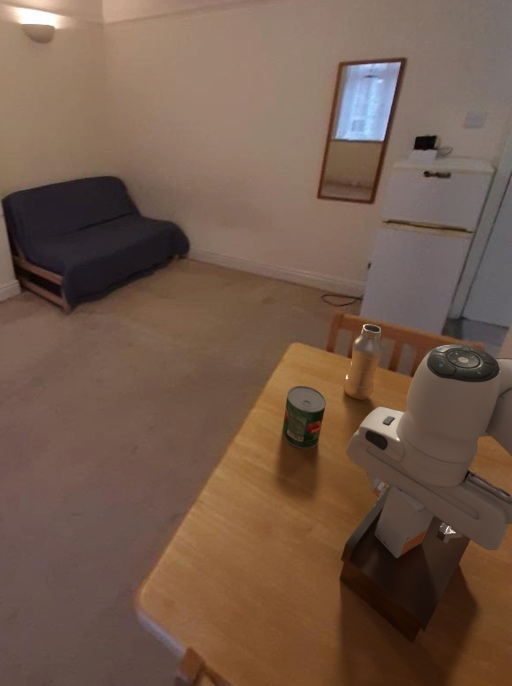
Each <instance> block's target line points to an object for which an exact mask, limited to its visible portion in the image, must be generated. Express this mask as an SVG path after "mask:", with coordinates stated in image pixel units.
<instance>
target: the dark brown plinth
mask: <svg viewBox="0 0 512 686" xmlns="http://www.w3.org/2000/svg"><path fill="white" fill-rule="evenodd" d="M390 488H391V487H390V486H389V485H387V487H385V490H384V492H383V494H381V496H380V497H378V499H377V500H376V502H374V504H373V506H372V507H371V508H370V509H369V511H368V513H367V514H366V515H365V516H364V517H363V519H362V520H361V522H360V523H359V524H358V525H357V527H355V530H354V531H353V532H352V533H351V535H350V536H349V538H348V539H347V540H346V542H345V544H344V547H343V551H342V554H341V558H340V561H341V562H342V563H343V565H342V567H341V571H340V576H339V580H340V581H342V582H343V583H344V584H345V585H346V586H347V587H348V588H350V589H351V590H352V591H353V592H354V593H355V594H356V595H357V596H359V597H360V598H361V599H362V600H363V601H364V602H366V604H367V605H369V607H371V608H372V609H373V610H374V611H376V613H378V614H379V615H380V616H381V617H382V618H383V619H384V620H385V621H387V622H388V623H389V624H391V626H392V627H393V628H395V629H396V630H397V631H398V632H399V633H400V634H401V635H403V636H404V637H405V638H406V639H407V640H408V641H409V642H410V643H411V644H414V643H415V641H416V639H417V638H418V635H419V634H420V630H422V631H423V632H426V630H427V628H428V626H429V624H430V622H431V620H432V618H433V616H434V614H435V612H436V610H437V608H438V605H440V602H441V600H442V598H443V596H444V594H445V592H446V590H447V588H448V586H449V584H450V582H451V580H452V578H453V576H454V573H455V572H456V570H457V569H458V566H459V564H460V562H461V560H462V558H463V555H464V554H465V552H466V550H467V548H468V547H469V543H470V541H472V540H471V539H469V538H468V537H466V536H465V535H463V536H462V537H459V538H450V539H449V541H448V543H447V544H446V543H445V542H443V541H442V540H440V539H439V538H438V537H436V534H437V532H438V530H439V528H440V526H441V524H442V523H445V522H444V521H442V520H441V519H439V518H437V517H436V516H433V518H432V520H431V523H430V525H429V527H428V529H427V532H426V534H425V536H424V538H423V541H422V543H420V544H418V545H417V546H415V547H413V548H412V549H410V550H408V551H407V552H405V553H404V554H402V555H401V556H399V557H398V558H395V557H394V556H393V554H392V553H391V552H390V551H389V550H388V549H387V548H386V547H385V546H384V545H383V544H382V542H381V541H380V540H379V539H378V538H377V537H376V536H375V535H374V533H375V530H376V527H377V524H378V522H379V519H380V516H381V513H382V510H383V508H384V505H385V502H386V499H387V496H388V493H389V490H390ZM445 524H447V523H445ZM447 525H448V524H447ZM448 526H450V525H448Z"/></svg>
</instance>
